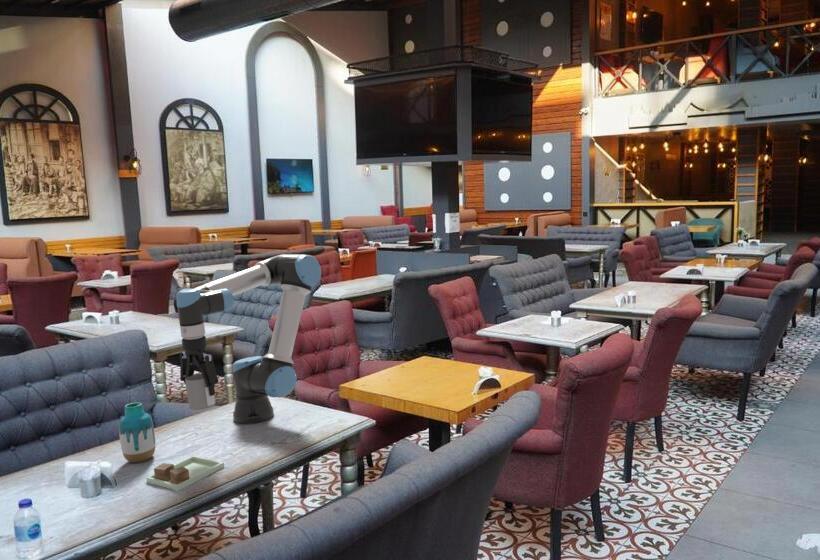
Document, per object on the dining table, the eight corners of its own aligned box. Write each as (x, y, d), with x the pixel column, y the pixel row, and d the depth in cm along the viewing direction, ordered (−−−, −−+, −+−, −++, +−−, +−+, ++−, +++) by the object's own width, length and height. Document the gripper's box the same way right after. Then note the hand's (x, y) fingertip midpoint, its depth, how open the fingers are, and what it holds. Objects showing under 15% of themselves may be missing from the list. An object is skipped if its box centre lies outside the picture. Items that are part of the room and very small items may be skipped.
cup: (207, 410, 217) (203, 380, 216) (184, 410, 219) (180, 380, 217) (219, 401, 225) (216, 372, 224) (197, 401, 227) (193, 372, 225)
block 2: (184, 478, 203) (182, 466, 202) (189, 482, 200) (188, 469, 199) (171, 483, 200) (169, 470, 199) (177, 487, 197) (175, 474, 197)
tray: (194, 461, 217) (193, 455, 217) (224, 468, 210) (223, 462, 210) (147, 484, 202) (146, 477, 202) (177, 492, 195) (177, 486, 195)
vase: (144, 467, 215) (137, 410, 212) (116, 466, 217) (108, 410, 214) (164, 454, 225) (157, 399, 222) (136, 453, 227) (129, 399, 225)
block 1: (164, 475, 206) (163, 463, 206) (175, 476, 205) (173, 464, 204) (155, 480, 203) (153, 468, 202) (165, 482, 201) (164, 469, 200)
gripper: (162, 337, 221) (171, 403, 224) (206, 341, 210) (215, 410, 213) (181, 332, 227) (189, 395, 231) (224, 335, 216) (233, 403, 220)
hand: (202, 402), depth 222 cm, fingers closed on cup, 8 cm apart
